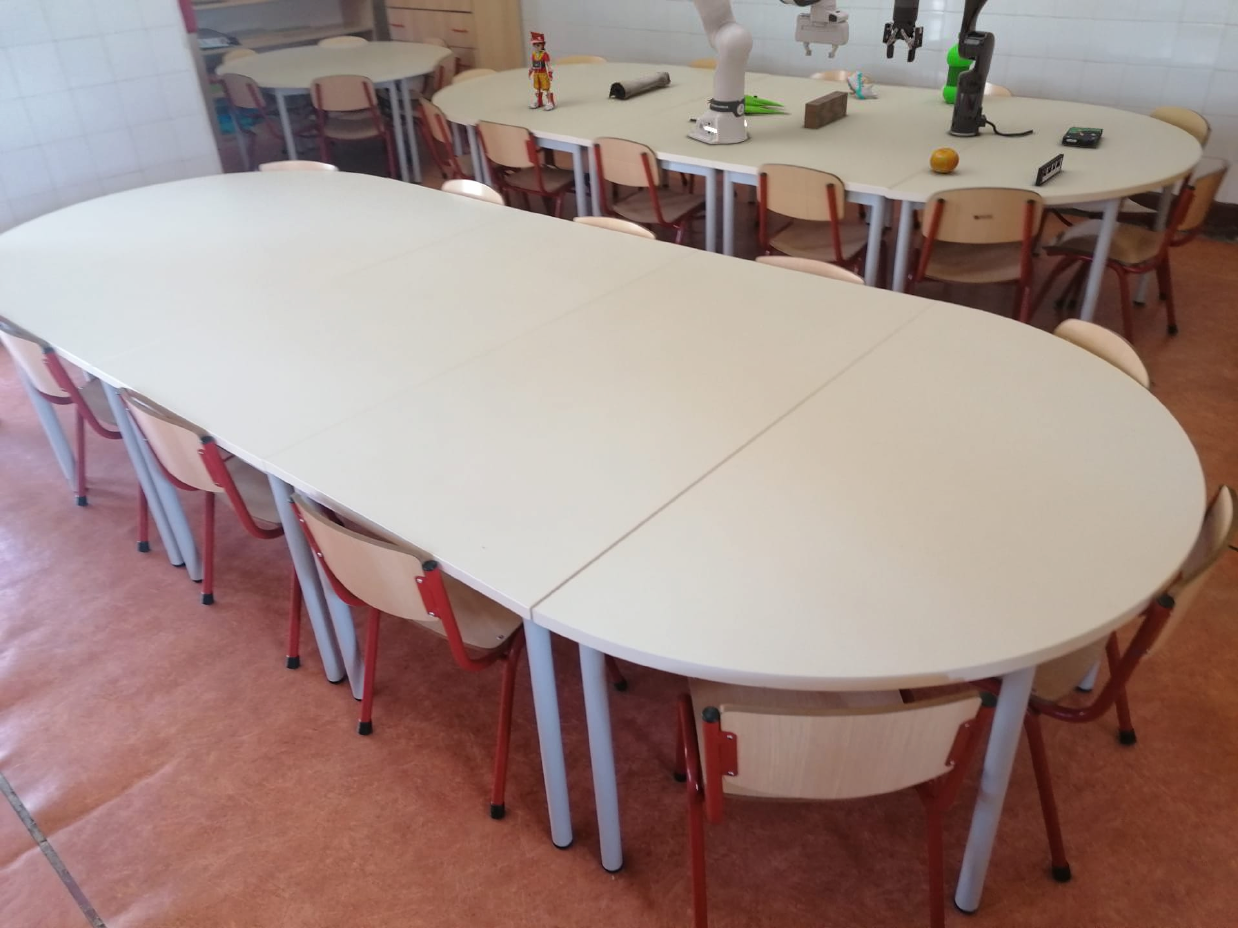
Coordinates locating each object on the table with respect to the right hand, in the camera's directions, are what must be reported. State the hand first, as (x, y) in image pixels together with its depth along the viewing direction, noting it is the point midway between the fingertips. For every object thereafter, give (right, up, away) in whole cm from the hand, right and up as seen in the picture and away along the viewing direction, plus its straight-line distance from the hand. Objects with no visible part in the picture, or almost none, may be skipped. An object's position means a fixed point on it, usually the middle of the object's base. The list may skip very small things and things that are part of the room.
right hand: (899, 60), depth 290 cm
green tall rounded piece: (+42, +13, +65) cm, 79 cm away
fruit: (+12, -38, -5) cm, 40 cm away
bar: (-12, 0, +52) cm, 54 cm away
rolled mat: (-81, +34, +107) cm, 139 cm away
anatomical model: (+9, +22, +82) cm, 86 cm away
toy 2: (-37, +11, +70) cm, 80 cm away
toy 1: (-124, +22, +93) cm, 156 cm away
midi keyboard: (+41, -43, -15) cm, 61 cm away
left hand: (-18, +16, +34) cm, 42 cm away
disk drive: (+66, -21, +14) cm, 71 cm away
